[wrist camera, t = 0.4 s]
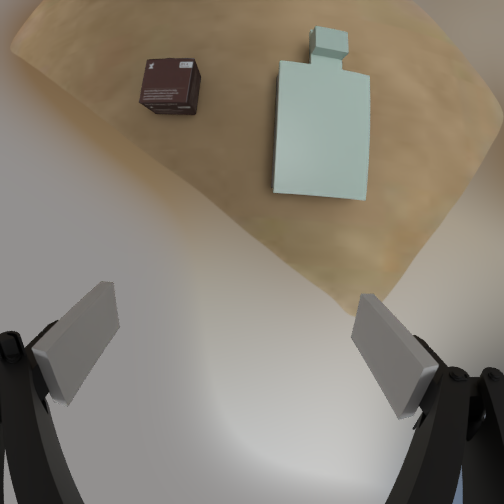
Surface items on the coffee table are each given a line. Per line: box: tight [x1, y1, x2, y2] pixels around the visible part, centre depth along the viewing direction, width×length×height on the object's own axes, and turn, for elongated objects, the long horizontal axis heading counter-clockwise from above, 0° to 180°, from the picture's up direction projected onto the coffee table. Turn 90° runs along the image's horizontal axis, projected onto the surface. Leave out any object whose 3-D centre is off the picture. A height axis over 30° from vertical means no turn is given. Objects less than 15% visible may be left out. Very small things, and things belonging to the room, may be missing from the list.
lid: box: [273, 26, 370, 201], centre depth 29 cm, size 22×12×4 cm, turn 177°
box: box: [139, 58, 201, 115], centre depth 31 cm, size 6×6×7 cm
